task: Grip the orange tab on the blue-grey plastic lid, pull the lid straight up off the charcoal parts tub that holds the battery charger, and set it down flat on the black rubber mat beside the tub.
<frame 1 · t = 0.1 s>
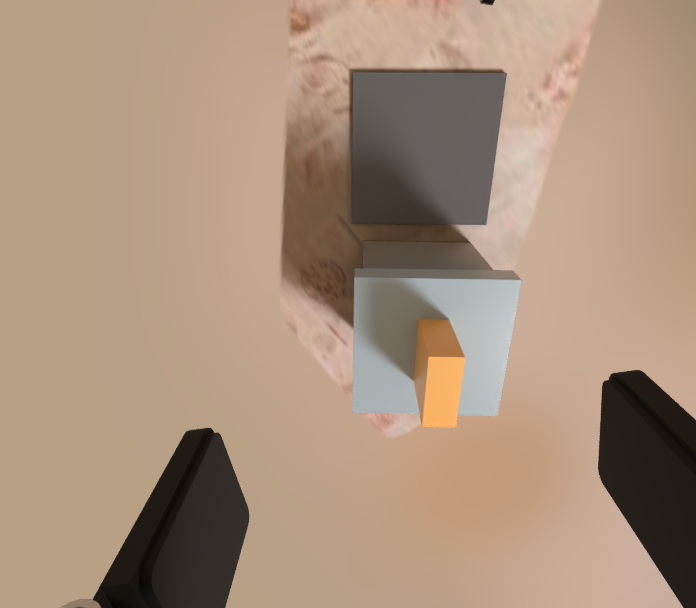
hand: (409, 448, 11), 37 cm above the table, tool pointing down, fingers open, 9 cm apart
tub: (413, 291, 49), on the table
mat: (423, 152, 43), on the table
lid: (429, 345, 38), point 12 cm above the table, touching tub
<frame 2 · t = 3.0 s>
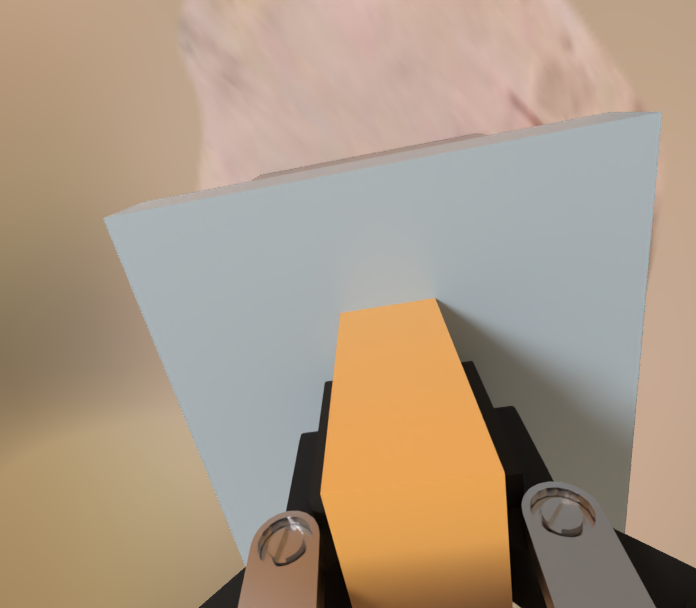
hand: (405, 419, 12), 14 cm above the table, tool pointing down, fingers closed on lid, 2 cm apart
tub: (382, 258, 25), on the table
lid: (399, 380, 13), point 13 cm above the table, touching gripper, tub
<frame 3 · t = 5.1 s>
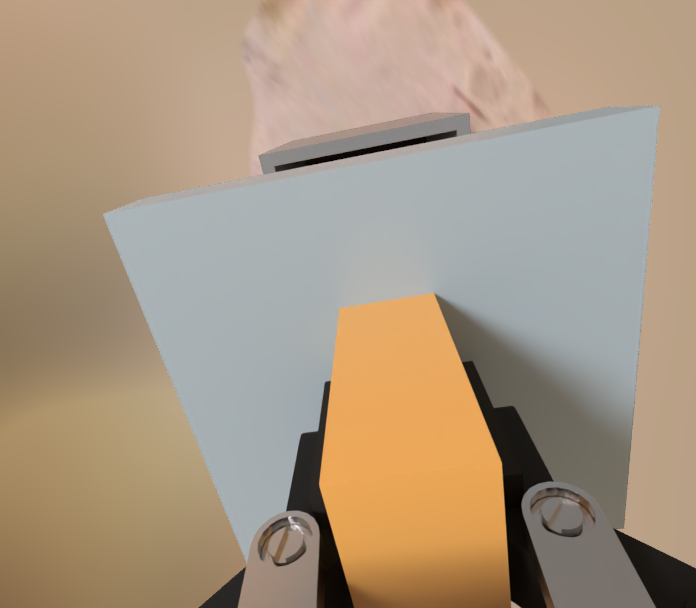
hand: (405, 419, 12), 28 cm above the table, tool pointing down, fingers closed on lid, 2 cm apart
tub: (372, 198, 37), on the table
lid: (399, 375, 14), point 26 cm above the table, touching gripper
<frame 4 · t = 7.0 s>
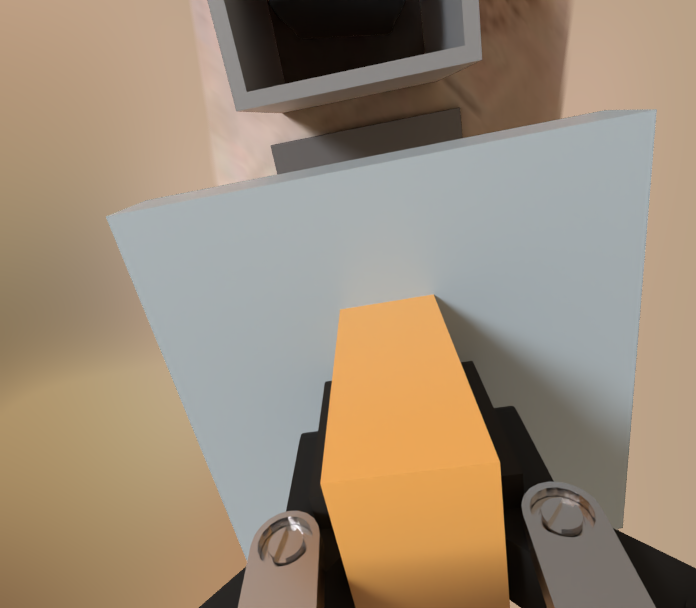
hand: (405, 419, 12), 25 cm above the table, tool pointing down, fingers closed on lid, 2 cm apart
tub: (343, 4, 29), on the table
battery charger: (343, 5, 29), resting in tub
mat: (378, 219, 35), on the table
lid: (399, 376, 14), point 23 cm above the table, touching gripper
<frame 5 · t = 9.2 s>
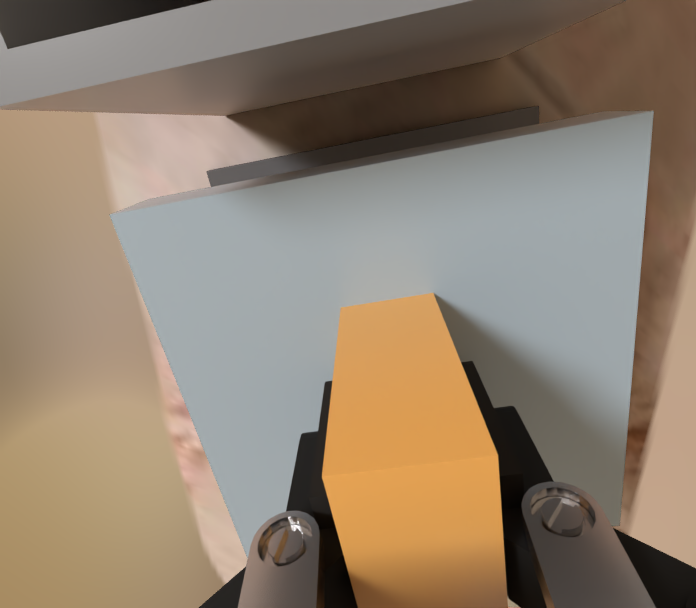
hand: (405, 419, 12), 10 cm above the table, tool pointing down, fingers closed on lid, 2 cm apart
mat: (390, 291, 21), on the table
lid: (399, 374, 14), point 8 cm above the table, touching gripper
when the fingers open (5 cm above the table, at t = 11.1 s): lid drops 1 cm, resting on mat.
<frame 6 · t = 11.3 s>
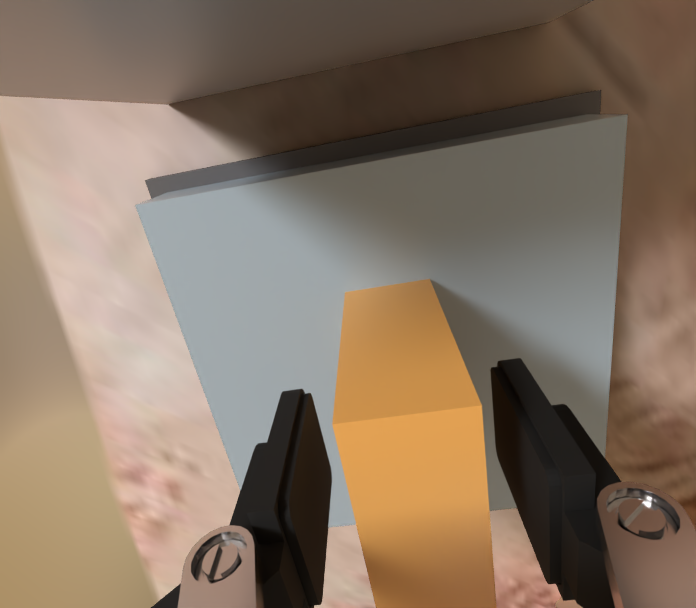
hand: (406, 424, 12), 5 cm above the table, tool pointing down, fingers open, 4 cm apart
mat: (393, 333, 16), on the table
lid: (397, 356, 15), point 2 cm above the table, touching mat
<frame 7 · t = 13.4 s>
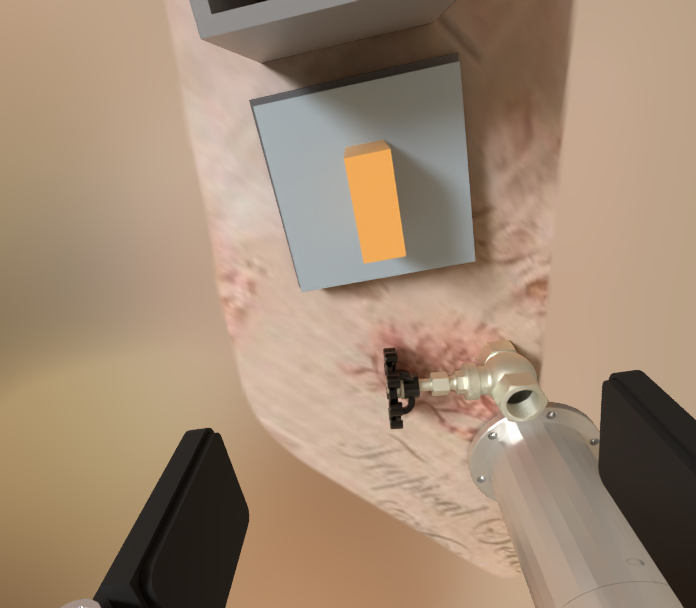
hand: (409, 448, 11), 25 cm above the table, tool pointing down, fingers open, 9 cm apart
mat: (369, 182, 32), on the table
valve: (451, 359, 39), on the table
lid: (371, 186, 31), point 2 cm above the table, touching mat
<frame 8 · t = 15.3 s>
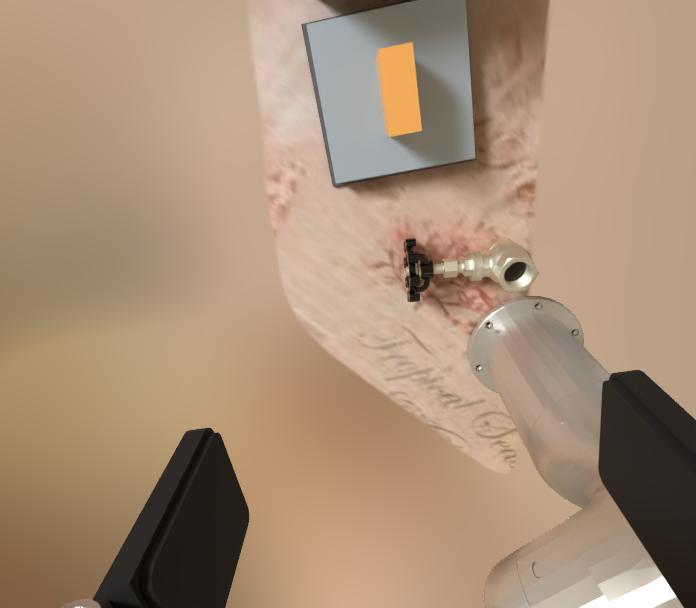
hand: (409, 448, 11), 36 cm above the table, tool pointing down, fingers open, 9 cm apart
mat: (392, 95, 40), on the table
valve: (459, 256, 47), on the table
lid: (394, 95, 39), point 2 cm above the table, touching mat
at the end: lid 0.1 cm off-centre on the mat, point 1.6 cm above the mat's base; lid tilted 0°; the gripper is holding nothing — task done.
